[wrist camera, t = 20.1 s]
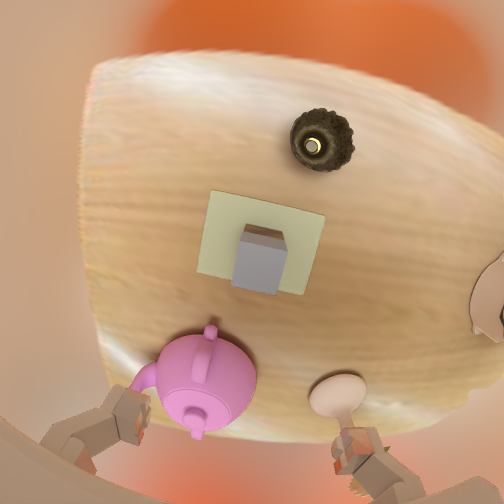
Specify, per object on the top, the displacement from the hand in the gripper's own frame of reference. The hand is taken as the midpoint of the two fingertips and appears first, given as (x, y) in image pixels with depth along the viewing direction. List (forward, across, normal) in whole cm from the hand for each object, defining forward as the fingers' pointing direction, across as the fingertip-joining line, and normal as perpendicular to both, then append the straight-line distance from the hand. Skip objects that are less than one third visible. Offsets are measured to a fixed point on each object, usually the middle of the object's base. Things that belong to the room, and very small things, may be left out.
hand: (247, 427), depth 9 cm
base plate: (+31, 0, 0) cm, 31 cm away
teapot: (+31, +6, +24) cm, 40 cm away
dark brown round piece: (+31, -4, -15) cm, 35 cm away
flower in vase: (+31, -22, +25) cm, 46 cm away
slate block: (+25, 0, 0) cm, 25 cm away
